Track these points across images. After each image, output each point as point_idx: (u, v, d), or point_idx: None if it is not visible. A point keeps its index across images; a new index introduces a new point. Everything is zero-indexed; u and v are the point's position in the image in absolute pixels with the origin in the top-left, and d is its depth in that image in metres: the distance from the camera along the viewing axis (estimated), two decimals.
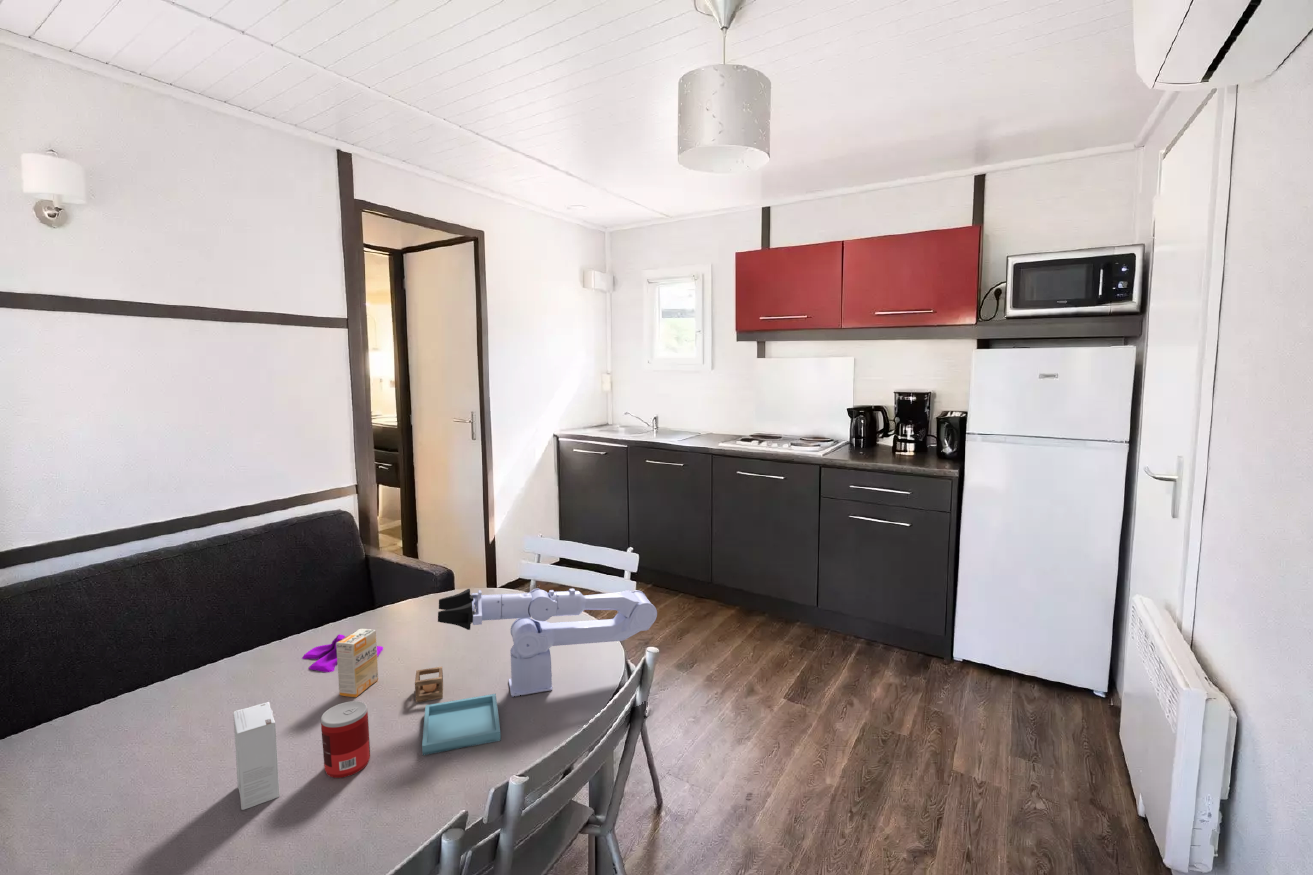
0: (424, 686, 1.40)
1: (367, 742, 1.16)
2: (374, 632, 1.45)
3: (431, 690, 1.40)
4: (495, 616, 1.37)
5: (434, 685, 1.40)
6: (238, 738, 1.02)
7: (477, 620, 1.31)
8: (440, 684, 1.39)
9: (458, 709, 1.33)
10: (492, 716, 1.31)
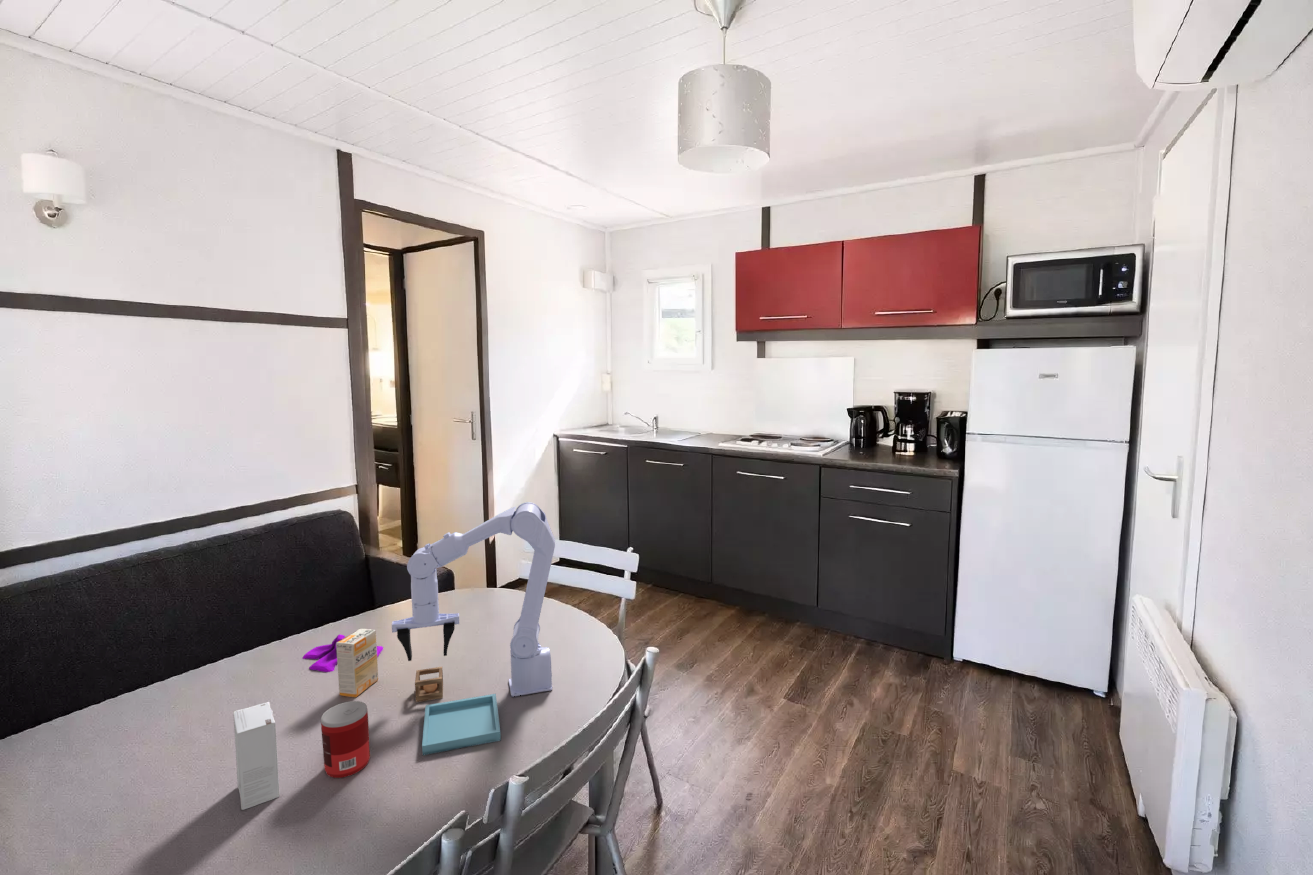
0: (425, 686, 1.40)
1: (367, 742, 1.16)
2: (374, 632, 1.45)
3: (431, 691, 1.40)
4: (413, 608, 1.37)
5: (435, 686, 1.40)
6: (238, 738, 1.02)
7: (392, 626, 1.37)
8: (440, 684, 1.39)
9: (458, 709, 1.33)
10: (492, 716, 1.31)
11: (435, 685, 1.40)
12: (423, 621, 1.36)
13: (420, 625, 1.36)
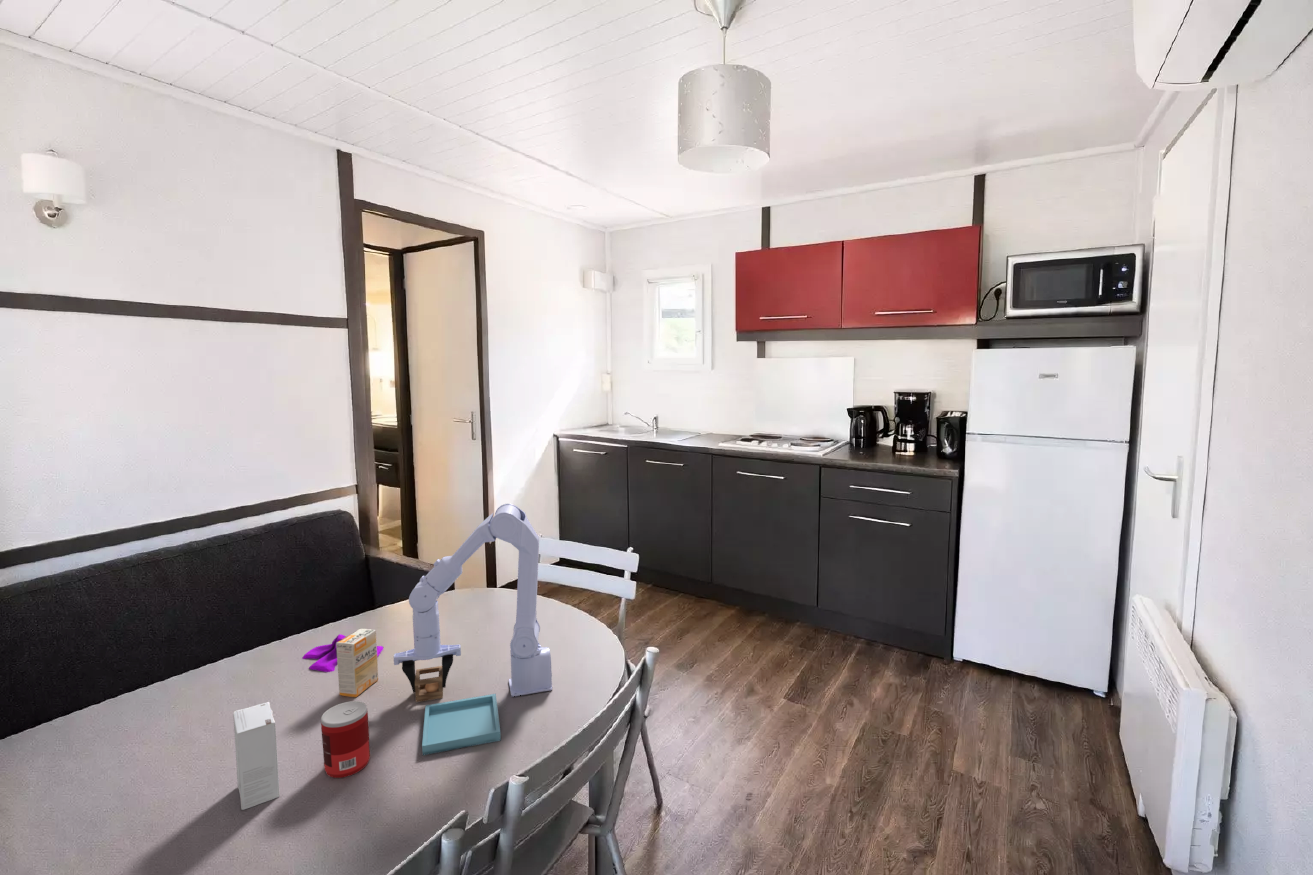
0: (427, 687, 1.39)
1: (367, 742, 1.16)
2: (374, 632, 1.45)
3: None
4: (414, 641, 1.37)
5: (436, 689, 1.40)
6: (238, 738, 1.02)
7: (394, 659, 1.38)
8: (440, 683, 1.39)
9: (458, 709, 1.33)
10: (492, 716, 1.31)
11: (437, 688, 1.40)
12: (425, 654, 1.37)
13: (422, 658, 1.37)
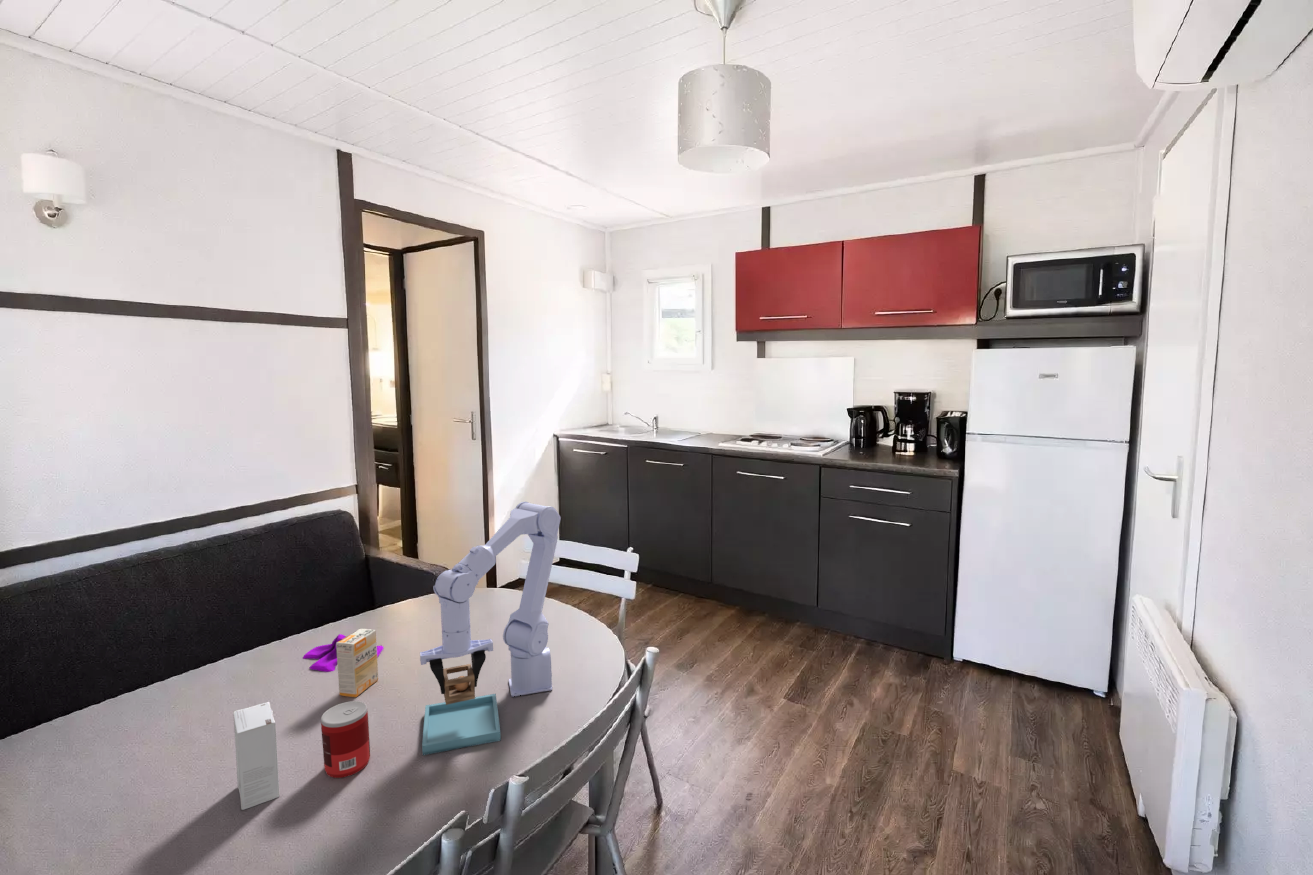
0: None
1: (367, 742, 1.16)
2: (374, 632, 1.45)
3: (463, 687, 1.27)
4: (444, 637, 1.24)
5: (467, 683, 1.28)
6: (238, 738, 1.02)
7: (420, 658, 1.24)
8: (472, 682, 1.26)
9: (458, 709, 1.33)
10: (492, 716, 1.31)
11: (468, 682, 1.28)
12: (456, 650, 1.24)
13: (453, 655, 1.24)
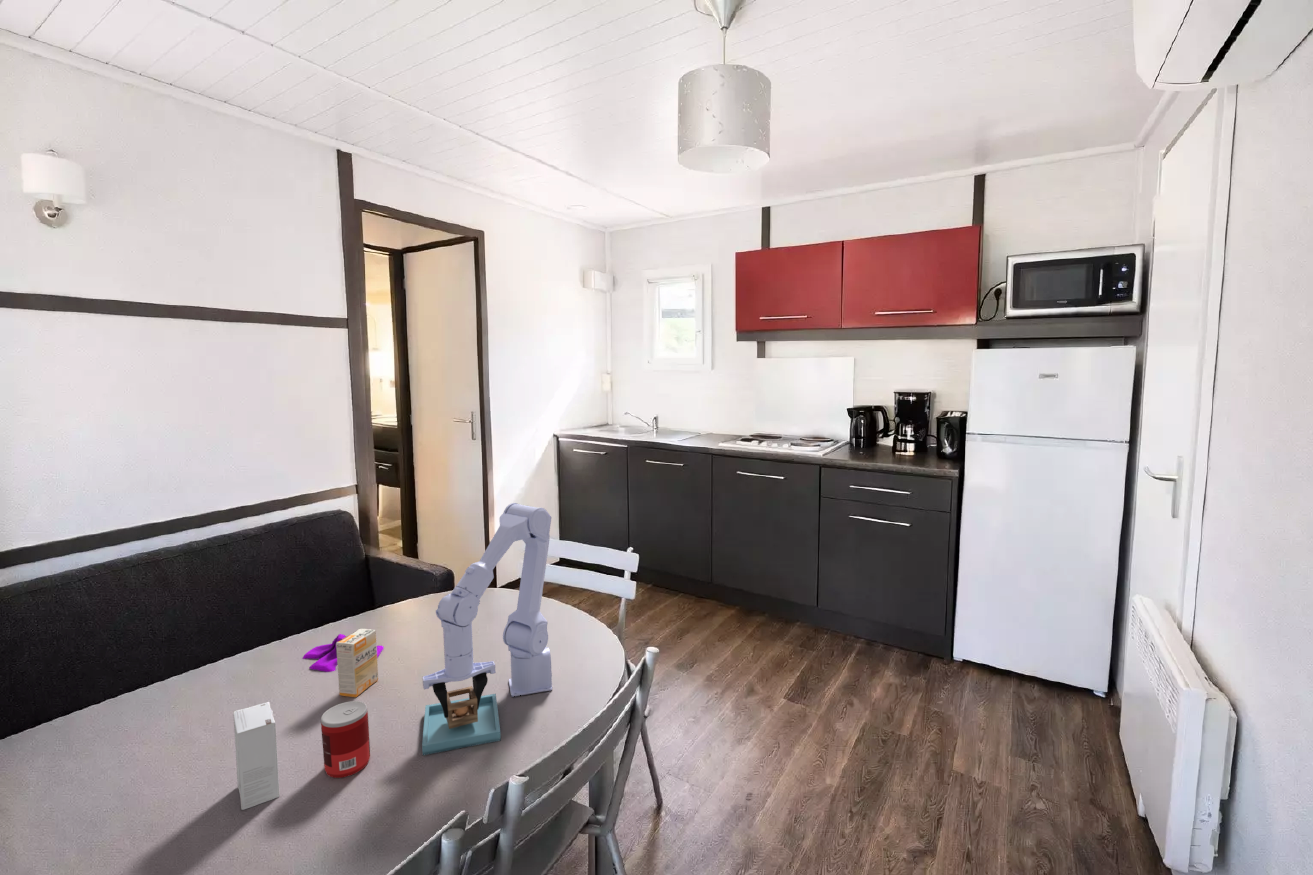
0: (456, 709, 1.27)
1: (367, 742, 1.16)
2: (374, 632, 1.45)
3: (464, 713, 1.27)
4: (447, 661, 1.24)
5: (467, 708, 1.28)
6: (238, 738, 1.02)
7: (423, 683, 1.24)
8: (475, 706, 1.26)
9: None
10: (492, 716, 1.31)
11: (467, 706, 1.28)
12: (459, 674, 1.24)
13: (456, 679, 1.24)
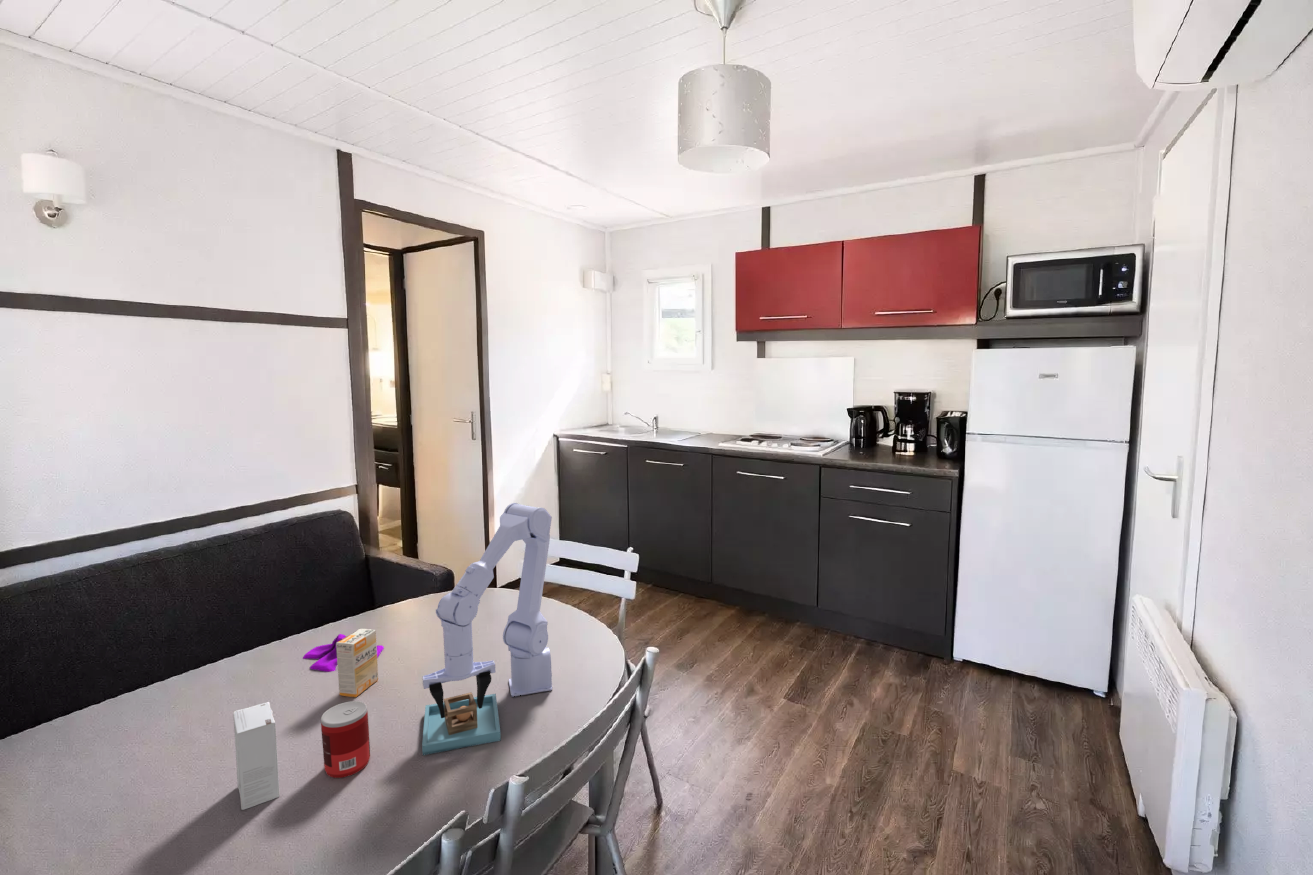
0: None
1: (367, 742, 1.16)
2: (374, 632, 1.45)
3: (465, 718, 1.27)
4: (447, 660, 1.24)
5: (470, 714, 1.28)
6: (238, 738, 1.02)
7: (423, 682, 1.24)
8: (475, 712, 1.26)
9: None
10: (492, 716, 1.31)
11: (470, 712, 1.28)
12: (459, 673, 1.24)
13: (456, 678, 1.24)
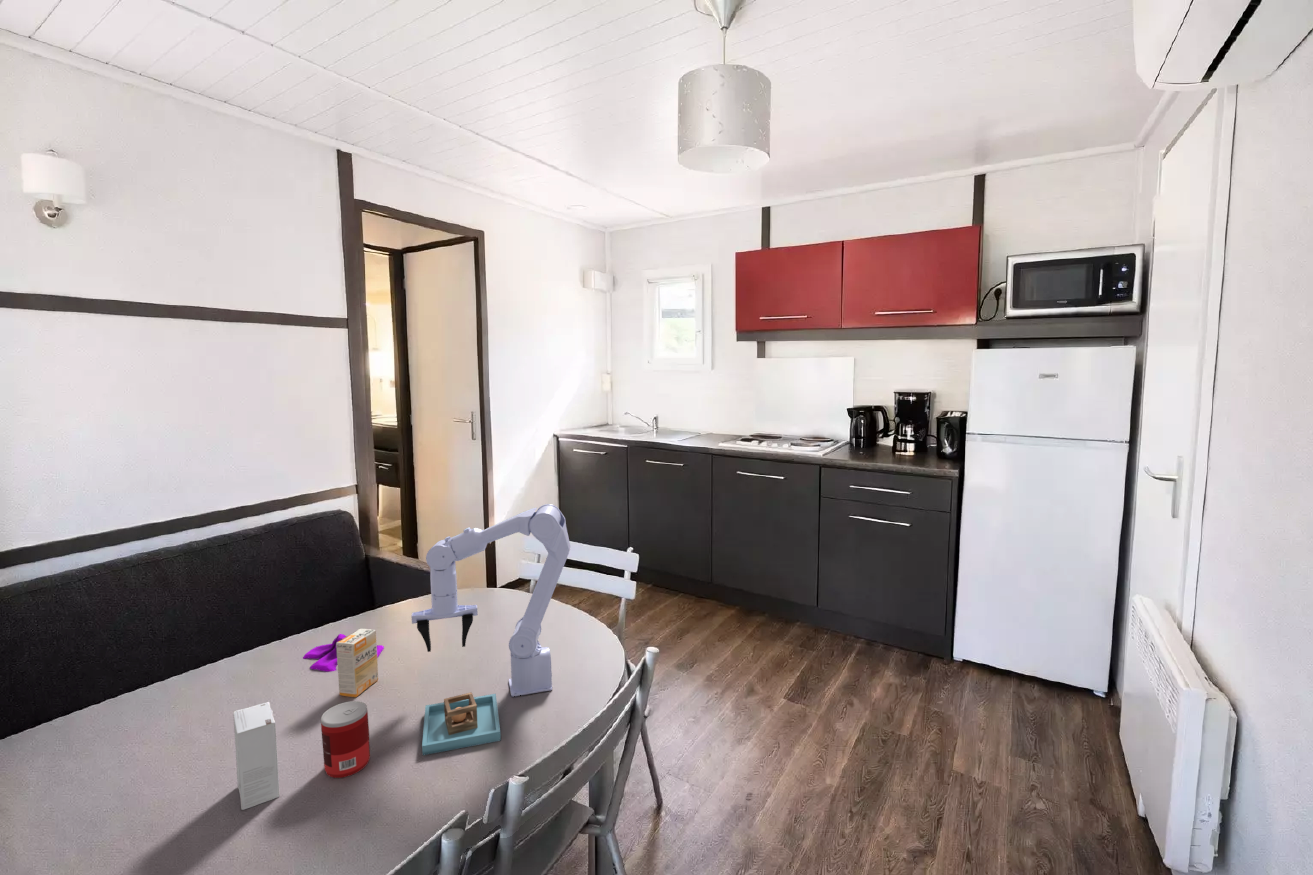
0: (453, 716, 1.27)
1: (367, 742, 1.16)
2: (374, 632, 1.45)
3: (462, 718, 1.27)
4: (432, 600, 1.39)
5: None
6: (238, 738, 1.02)
7: None
8: (475, 712, 1.26)
9: None
10: (492, 716, 1.31)
11: None
12: (442, 612, 1.38)
13: (440, 616, 1.38)
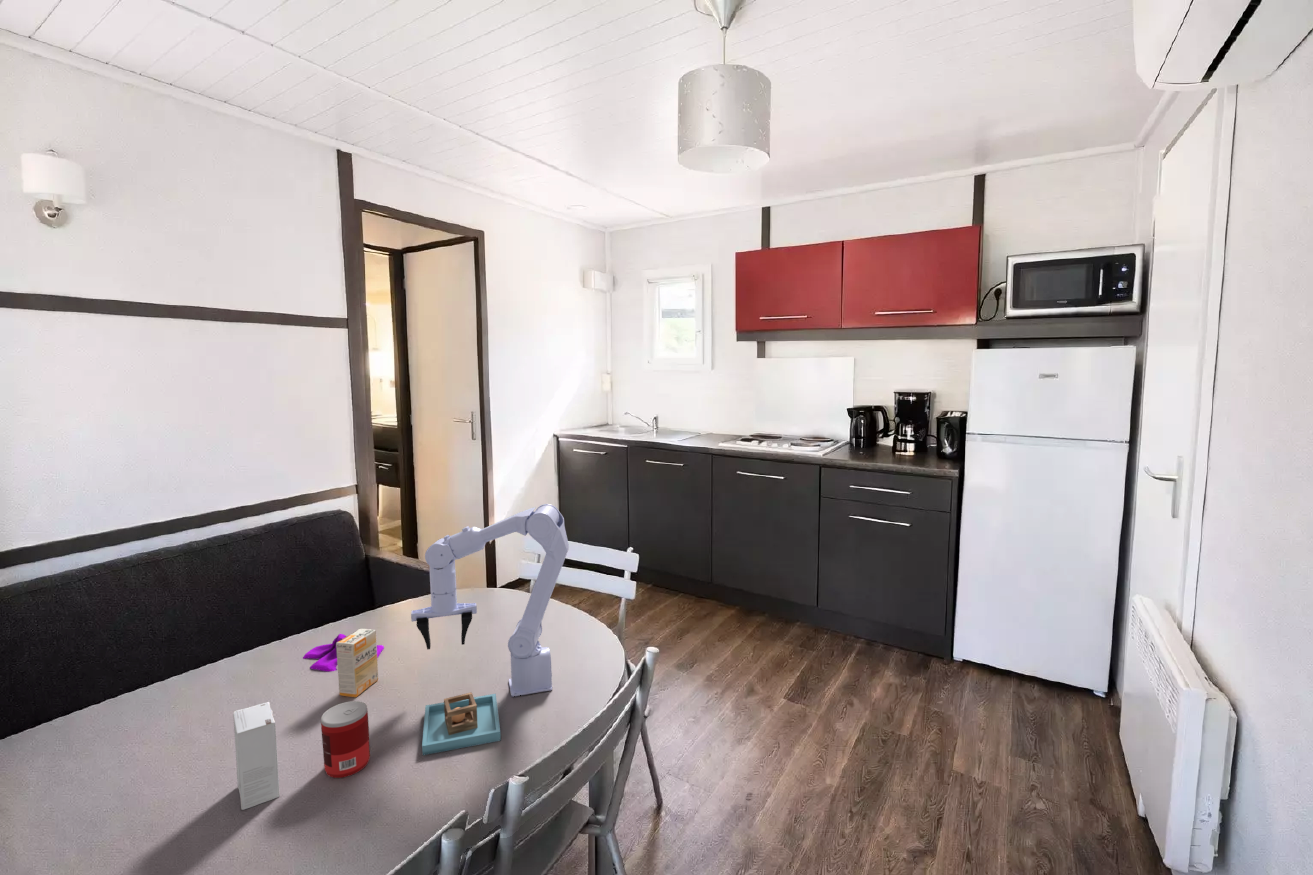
0: (452, 717, 1.27)
1: (367, 742, 1.16)
2: (374, 632, 1.45)
3: (461, 718, 1.27)
4: (432, 598, 1.40)
5: None
6: (238, 738, 1.02)
7: None
8: (475, 712, 1.26)
9: None
10: (492, 716, 1.31)
11: None
12: (442, 610, 1.39)
13: (439, 614, 1.39)
